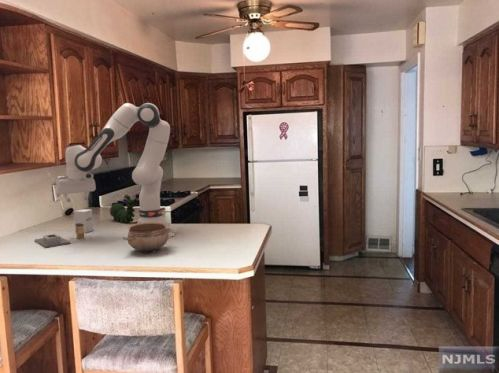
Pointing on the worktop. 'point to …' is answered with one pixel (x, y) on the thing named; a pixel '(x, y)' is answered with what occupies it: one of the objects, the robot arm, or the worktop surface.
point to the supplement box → (84, 219)
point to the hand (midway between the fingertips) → (76, 201)
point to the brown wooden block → (80, 231)
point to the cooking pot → (147, 236)
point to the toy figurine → (123, 211)
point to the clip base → (51, 241)
